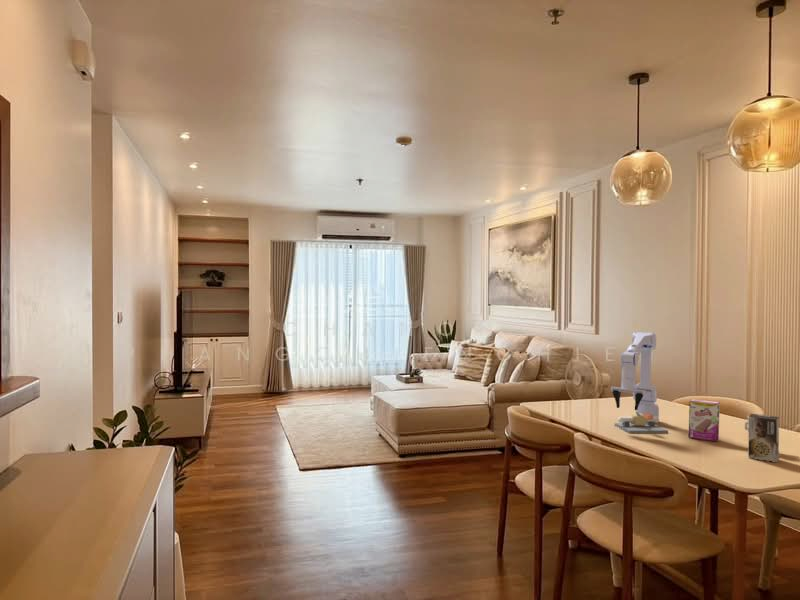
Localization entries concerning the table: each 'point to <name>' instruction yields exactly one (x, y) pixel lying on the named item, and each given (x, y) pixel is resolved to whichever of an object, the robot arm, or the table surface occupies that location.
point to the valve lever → (645, 415)
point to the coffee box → (763, 437)
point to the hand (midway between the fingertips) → (627, 409)
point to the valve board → (641, 428)
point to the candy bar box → (704, 420)
